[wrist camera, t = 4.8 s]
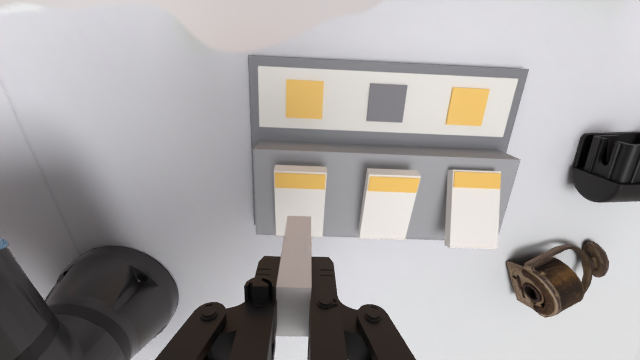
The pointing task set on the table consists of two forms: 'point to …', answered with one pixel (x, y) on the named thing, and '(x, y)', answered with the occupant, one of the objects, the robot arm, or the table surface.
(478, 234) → the rocker
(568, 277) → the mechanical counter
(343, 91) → the switch unit
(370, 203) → the rocker middle
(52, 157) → the table surface
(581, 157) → the end cap
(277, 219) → the rocker
